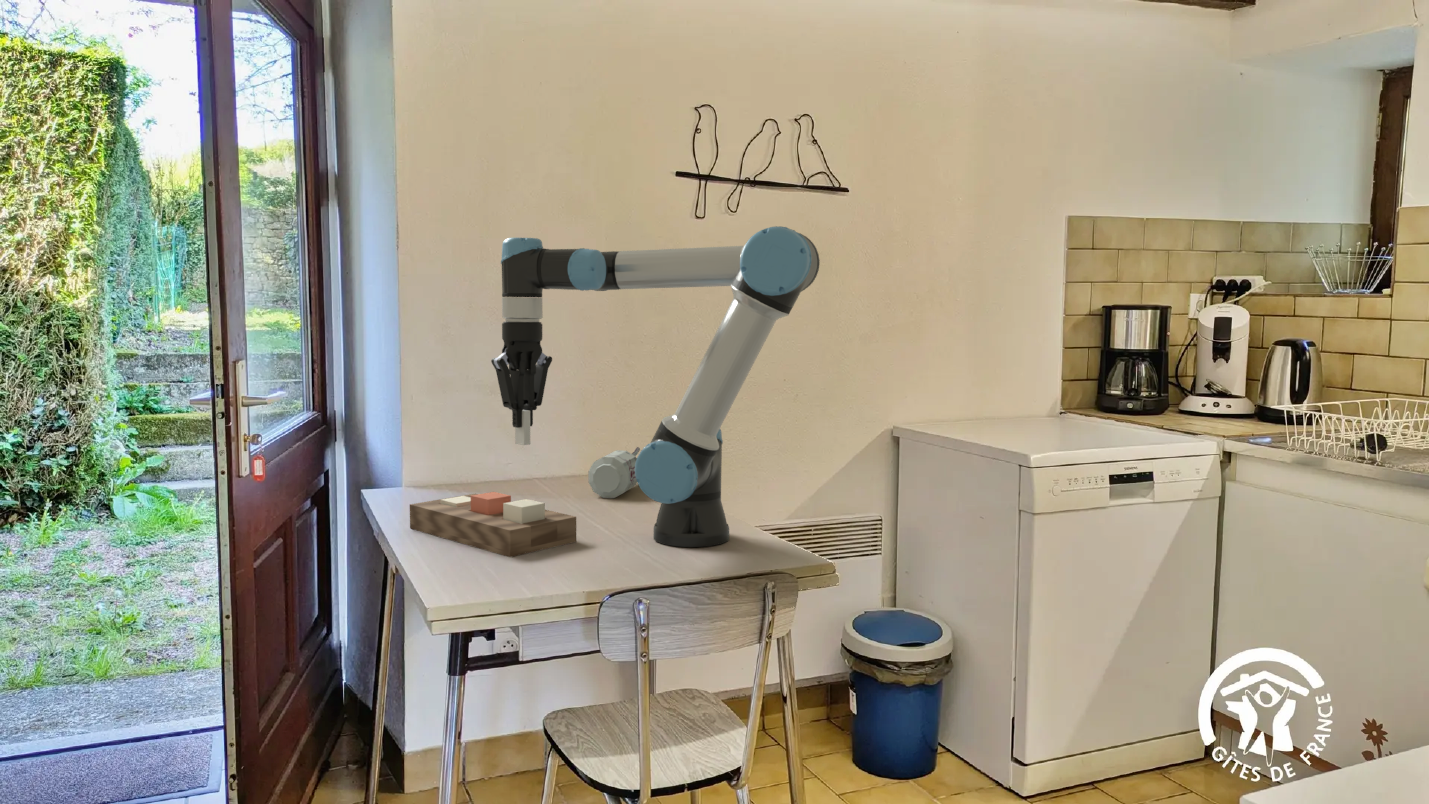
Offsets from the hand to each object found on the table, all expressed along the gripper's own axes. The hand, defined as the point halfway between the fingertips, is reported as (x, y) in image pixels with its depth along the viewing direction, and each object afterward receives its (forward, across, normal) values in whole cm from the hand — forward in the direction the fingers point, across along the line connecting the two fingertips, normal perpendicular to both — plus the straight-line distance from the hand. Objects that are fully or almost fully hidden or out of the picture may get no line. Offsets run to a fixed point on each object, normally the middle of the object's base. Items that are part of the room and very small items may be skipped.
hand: (522, 443), depth 191 cm
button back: (+18, 0, -21) cm, 28 cm away
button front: (+16, 0, 0) cm, 16 cm away
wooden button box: (+20, 0, -10) cm, 22 cm away
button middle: (+16, 0, -10) cm, 19 cm away
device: (+20, -54, -27) cm, 63 cm away
